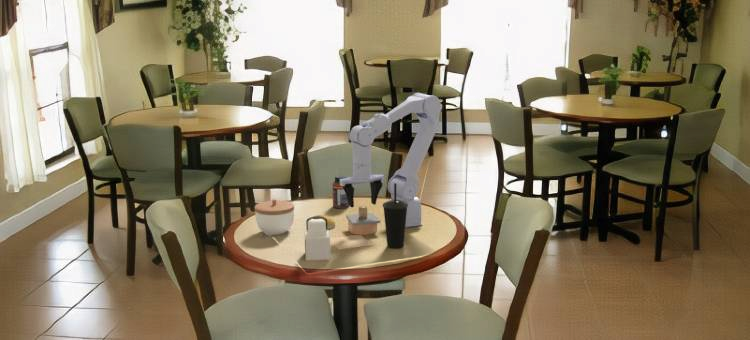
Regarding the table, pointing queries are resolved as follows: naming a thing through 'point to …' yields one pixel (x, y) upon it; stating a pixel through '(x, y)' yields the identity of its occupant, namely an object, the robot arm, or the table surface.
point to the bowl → (362, 228)
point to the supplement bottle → (339, 193)
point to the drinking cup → (395, 221)
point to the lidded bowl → (274, 216)
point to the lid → (362, 217)
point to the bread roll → (328, 222)
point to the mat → (349, 242)
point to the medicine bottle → (317, 239)
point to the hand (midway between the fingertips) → (362, 205)
